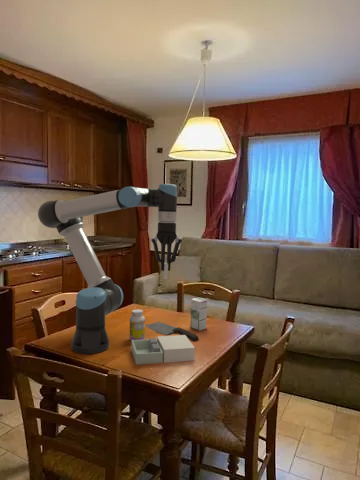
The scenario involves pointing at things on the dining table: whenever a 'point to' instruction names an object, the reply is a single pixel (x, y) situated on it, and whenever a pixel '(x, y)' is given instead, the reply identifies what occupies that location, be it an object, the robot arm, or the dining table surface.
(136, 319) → the supplement bottle
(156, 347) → the slate tile
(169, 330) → the cleaver
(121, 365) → the dining table surface
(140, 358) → the box
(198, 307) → the syrup box
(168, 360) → the plate
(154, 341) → the slate tile
